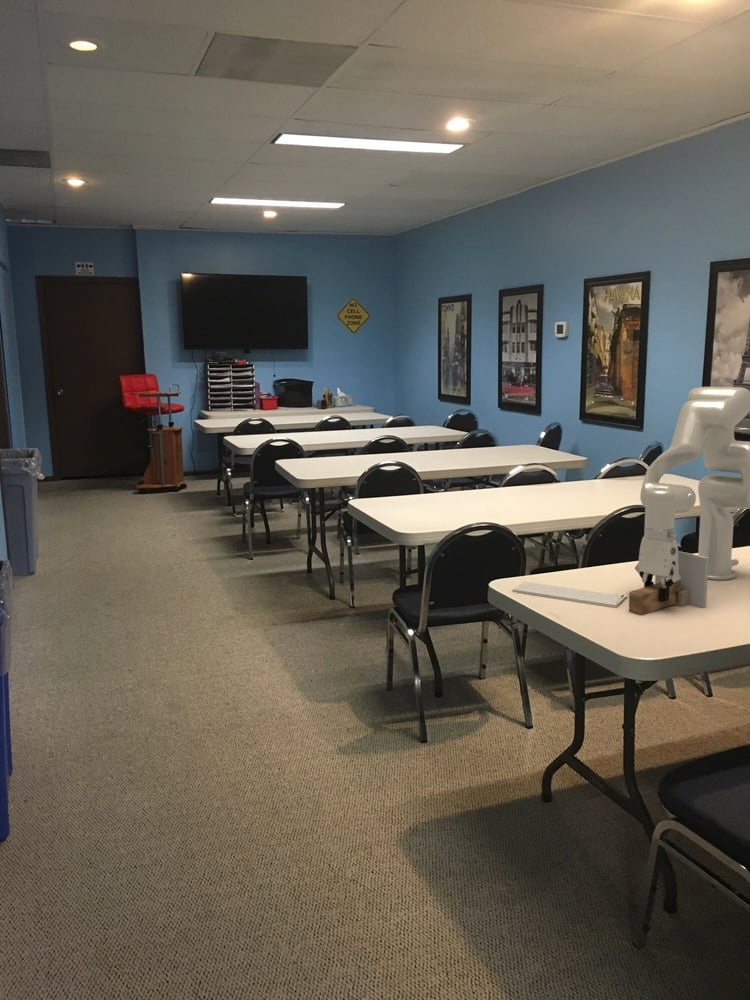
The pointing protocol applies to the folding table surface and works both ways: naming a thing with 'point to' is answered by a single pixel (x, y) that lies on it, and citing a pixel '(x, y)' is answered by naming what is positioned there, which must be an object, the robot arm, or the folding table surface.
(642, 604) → the rail
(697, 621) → the folding table surface
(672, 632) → the folding table surface
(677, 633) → the folding table surface
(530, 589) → the grey flat board
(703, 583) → the panel
